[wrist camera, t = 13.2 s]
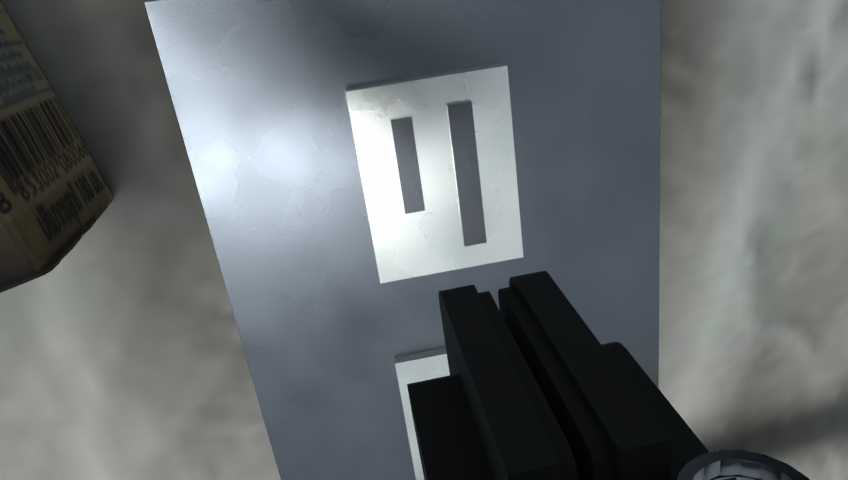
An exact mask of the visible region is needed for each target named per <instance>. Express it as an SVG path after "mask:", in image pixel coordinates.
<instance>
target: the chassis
mask: <svg viewBox="0 0 848 480" xmlns="http://www.w3.org/2000/svg"><path fill="white" fill-rule="evenodd" d="M145 6H146V10H147V13H148V17H149V20H150V24H151V27H152V31H153V34H154V38H155V41H156V45H157V48H158V52H159V55H160V59H161V62H162V66H163V69H164V73H165V76H166V80H167V83H168V87H169V90H170V94H171V97H172V101H173V104H174V108H175V111H176V115H177V118H178V122H179V125H180V129H181V132H182V136H183V139H184V142H185V146H186V149H187V153H188V156H189V160H190V163H191V167H192V170H193V174H194V177H195V181H196V184H197V188H198V191H199V195H200V198H201V202H202V205H203V209H204V212H205V216H206V219H207V223H208V226H209V230H210V233H211V237H212V240H213V244H214V247H215V251H216V254H217V258H218V261H219V265H220V268H221V272H222V275H223V279H224V282H225V285H226V289H227V292H228V296H229V299H230V303H231V306H232V310H233V313H234V317H235V320H236V324H237V327H238V331H239V334H240V338H241V341H242V345H243V348H244V352H245V355H246V359H247V362H248V366H249V369H250V373H251V376H252V380H253V383H254V387H255V390H256V394H257V397H258V401H259V404H260V408H261V411H262V415H263V418H264V421H265V425H266V428H267V432H268V435H269V439H270V442H271V446H272V449H273V453H274V456H275V460H276V463H277V467H278V470H279V474H280V477H281V480H424V475H423V469H422V464H421V459H420V454H419V449H418V444H417V438H416V433H415V427H414V422H413V416H412V411H411V405H410V400H409V394H408V388H407V384H410V383H415V382H420V381H425V380H430V379H435V378H439V377H444V376H449V375H450V373H449V366H448V359H447V352H446V345H445V339H444V332H443V325H442V318H441V311H440V304H439V295H438V293H439V291H442V290H447V289H453V288H458V287H463V286H468V285H474V286H475V287H476V289H477V292H478V293H480V292H486V291H489V292H490V293H491V295H492V297H493V299H494V301H495V303H496V305H497V307H498V308H499V300H498V290H499V289H501V288H506V287H509V279H510V277H514V276H520V275H525V274H530V273H535V272H540V271H546V272H548V273H549V275H550V276H551V278H552V279H553V280H554V282H555V283H556V284H557V286H558V287H559V288H560V290H561V291H562V292H563V294H564V295H565V296H566V298H567V299H568V300H569V302H570V303H571V305H572V306H573V307H574V309H575V310H576V311H577V313H578V314H579V315H580V317H581V318H582V319H583V321H584V322H585V323H586V325H587V326H588V327H589V329H590V330H591V331H592V333H593V334H594V336H595V337H596V338H597V340H598V341H599V342H600V344H606V343H611V342H619V343H621V344H622V345H623V346H624V347H625V348H626V349H627V350H628V351H629V353H630V354H631V355H632V356H633V358H634V359H635V360H636V361H637V363H638V364H639V365H640V366H641V368H642V369H643V370H644V371H645V373H646V374H647V375H648V376H649V378H650V379H651V380H652V381H653V383H654V384H655V385H656V386H657V388H658V363H659V213H660V62H661V0H156V1H150V2H145Z"/></svg>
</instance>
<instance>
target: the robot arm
mask: <svg viewBox="0 0 848 480" xmlns="http://www.w3.org/2000/svg"><path fill="white" fill-rule="evenodd" d="M438 295H439V304H440V311H441V318H442V325H443V332H444V339H445V345H446V352H447V359H448V366H449V373H450V375H449V376H444V377H439V378H435V379H430V380H425V381H420V382H415V383H410V384H407V388H408V394H409V400H410V405H411V411H412V416H413V422H414V427H415V433H416V438H417V444H418V449H419V454H420V459H421V464H422V469H423V475H424V480H810V479H809V478H808V477H806V476H805V475H803V474H802V473H800V472H799V471H797V470H796V469H794V468H793V467H791V466H790V465H788V464H786V463H784V462H782V461H779V460H777V459H774V458H772V457H769V456H767V455H764V454H759V453H754V452H749V451H745V450H719V451H714V452H710V453H709V452H708V450H707V449H706V448H705V446H704V445H703V444H702V443H701V441H700V440H699V439H698V438H697V436H696V435H695V434H694V433H693V431H692V430H691V429H690V428H689V426H688V425H687V424H686V423H685V421H684V420H683V419H682V418H681V416H680V415H679V414H678V413H677V411H676V410H675V409H674V408H673V406H672V405H671V404H670V403H669V401H668V400H667V399H666V398H665V396H664V395H663V394H662V393H661V391H660V390H659V389H658V388H657V386H656V385H655V384H654V383H653V381H652V380H651V379H650V378H649V376H648V375H647V374H646V373H645V371H644V370H643V369H642V368H641V366H640V365H639V364H638V363H637V361H636V360H635V359H634V358H633V356H632V355H631V354H630V353H629V351H628V350H627V349H626V348H625V347H624V346H623V345H622V344H621V343H619V342H611V343H606V344H600V342H599V341H598V340H597V338H596V337H595V336H594V334H593V333H592V331H591V330H590V329H589V327H588V326H587V325H586V323H585V322H584V321H583V319H582V318H581V317H580V315H579V314H578V313H577V311H576V310H575V309H574V307H573V306H572V305H571V303H570V302H569V300H568V299H567V298H566V296H565V295H564V294H563V292H562V291H561V290H560V288H559V287H558V286H557V284H556V283H555V282H554V280H553V279H552V278H551V276H550V275H549V273H548V272H546V271H540V272H535V273H530V274H525V275H520V276H514V277H510V279H509V287H506V288H501V289H499V290H498V300H499V308H498V307H497V305H496V303H495V301H494V299H493V297H492V295H491V293H490V292H489V291H486V292H480V293H478V292H477V289H476V287H475V286H474V285H468V286H463V287H458V288H453V289H447V290H442V291H439V293H438Z"/></svg>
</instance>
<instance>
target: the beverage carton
mask: <svg viewBox="0 0 848 480" xmlns="http://www.w3.org/2000/svg"><path fill="white" fill-rule="evenodd" d="M111 202H112V194H111V192H110V191H109V189H108V188H107V186H106V185H105V183H104V182H103V180H102V178H101V176H100V174H99V172H98V170H97V168H96V166H95V164H94V162H93V160H92V158H91V156H90V154H89V153H88V151H87V149H86V147H85V146H84V144H83V142H82V140H81V139H80V137H79V135H78V133H77V132H76V130H75V128H74V126H73V125H72V123H71V121H70V119H69V118H68V116H67V114H66V112H65V111H64V109H63V107H62V105H61V103H60V102H59V100H58V98H57V96H56V95H55V93H54V91H53V90H52V88H51V86H50V85H49V83H48V81H47V80H46V78H45V76H44V74H43V73H42V71H41V69H40V68H39V66H38V64H37V63H36V61H35V59H34V58H33V56H32V54H31V53H30V51H29V49H28V48H27V46H26V44H25V42H24V41H23V39H22V37H21V36H20V34H19V32H18V31H17V29H16V27H15V26H14V24H13V22H12V21H11V19H10V17H9V16H8V14H7V12H6V10H5V9H4V7H3V5H2V4H1V2H0V293H1V292H3V291H6V290H8V289H11V288H13V287H16V286H18V285H21V284H23V283H26V282H28V281H30V280H33V279H35V278H38V277H40V276H43V275H45V274H47V273H48V272H50V271H52V270H53V269H54V268H55V267H56V266H57V265H58V264H59V263H60V261H61V260H62V259H63V258H64V257H65V256H66V255H67V254H68V253H69V252H70V251H71V250H72V249H73V247H74V246H75V245H76V244H77V242H78V241H79V240H80V239H81V237H82V236H83V235H84V234H85V233H86V232H87V231H88V230H89V229H90V228H91V227H92V225H93V224H94V223H95V222H96V220H97V219H98V218H99V217H100V216H101V214H102V213H103V212H104V211H105V210H106V208H107V207H108V205H109V204H110V203H111Z"/></svg>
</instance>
